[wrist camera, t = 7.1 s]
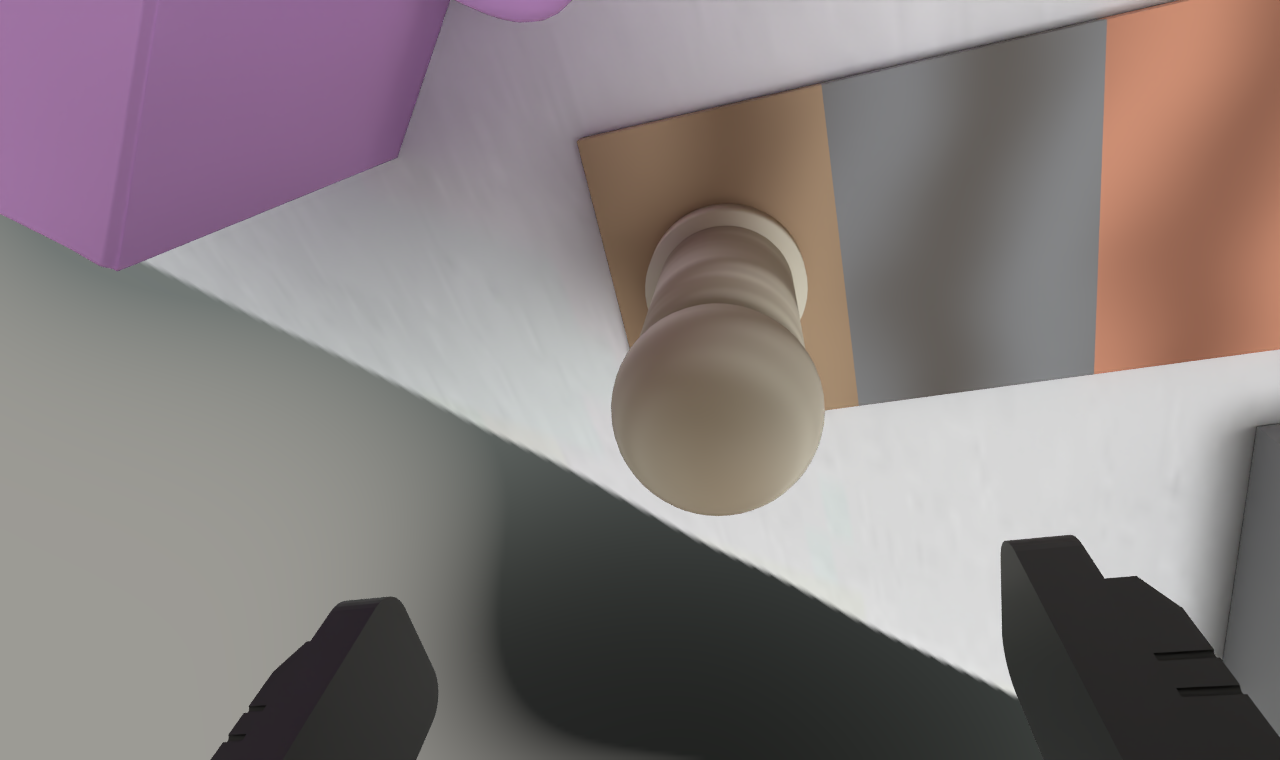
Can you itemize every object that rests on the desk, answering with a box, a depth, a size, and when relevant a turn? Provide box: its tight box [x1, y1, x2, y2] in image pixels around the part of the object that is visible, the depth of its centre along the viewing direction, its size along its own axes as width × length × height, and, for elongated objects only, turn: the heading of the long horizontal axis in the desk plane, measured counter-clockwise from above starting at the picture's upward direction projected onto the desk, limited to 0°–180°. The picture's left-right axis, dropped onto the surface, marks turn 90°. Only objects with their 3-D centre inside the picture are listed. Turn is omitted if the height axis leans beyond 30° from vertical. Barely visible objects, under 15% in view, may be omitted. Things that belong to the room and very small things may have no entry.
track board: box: [577, 0, 1280, 410], centre depth 20 cm, size 28×10×1 cm, turn 103°
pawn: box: [611, 204, 825, 516], centre depth 18 cm, size 5×5×10 cm
